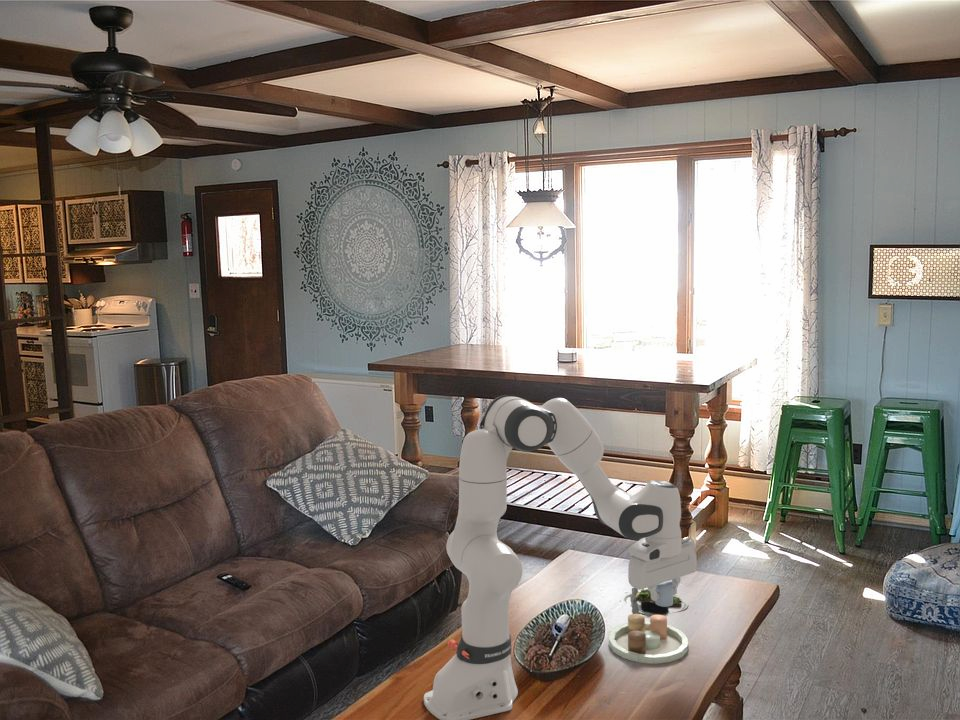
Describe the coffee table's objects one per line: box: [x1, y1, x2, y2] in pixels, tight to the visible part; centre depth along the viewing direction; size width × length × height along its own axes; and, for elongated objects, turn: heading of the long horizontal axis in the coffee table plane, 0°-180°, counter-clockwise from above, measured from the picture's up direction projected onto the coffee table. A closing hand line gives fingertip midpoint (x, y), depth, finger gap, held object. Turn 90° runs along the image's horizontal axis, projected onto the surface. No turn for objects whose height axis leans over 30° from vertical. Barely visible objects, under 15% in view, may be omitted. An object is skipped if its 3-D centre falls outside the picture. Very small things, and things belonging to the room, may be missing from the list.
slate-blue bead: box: [655, 580, 673, 608], centre depth 213 cm, size 4×4×5 cm
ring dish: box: [608, 621, 689, 665], centre depth 220 cm, size 20×20×4 cm
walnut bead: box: [628, 631, 646, 654], centre depth 216 cm, size 4×4×5 cm
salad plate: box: [623, 587, 689, 617], centre depth 247 cm, size 19×18×5 cm
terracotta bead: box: [649, 615, 668, 640], centre depth 224 cm, size 4×4×5 cm
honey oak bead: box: [627, 613, 646, 633], centre depth 225 cm, size 4×4×5 cm
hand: (663, 596), depth 213 cm, fingers closed on slate-blue bead, 4 cm apart
